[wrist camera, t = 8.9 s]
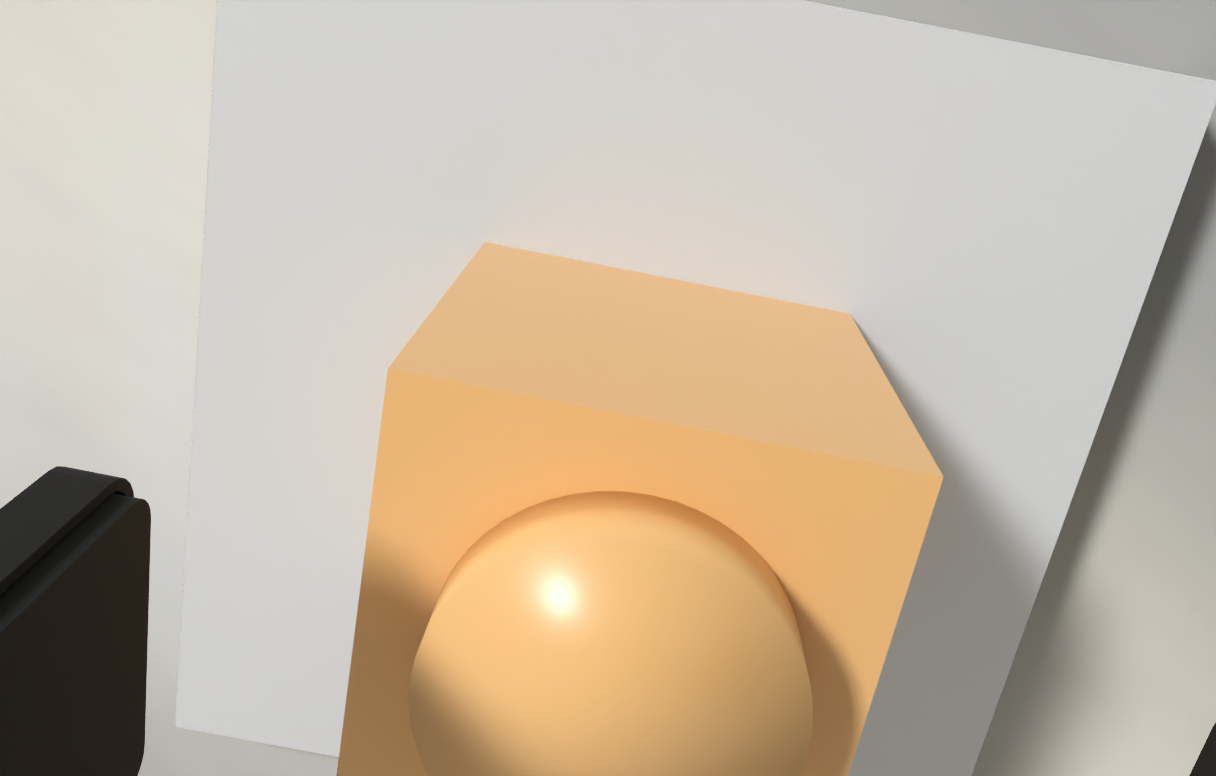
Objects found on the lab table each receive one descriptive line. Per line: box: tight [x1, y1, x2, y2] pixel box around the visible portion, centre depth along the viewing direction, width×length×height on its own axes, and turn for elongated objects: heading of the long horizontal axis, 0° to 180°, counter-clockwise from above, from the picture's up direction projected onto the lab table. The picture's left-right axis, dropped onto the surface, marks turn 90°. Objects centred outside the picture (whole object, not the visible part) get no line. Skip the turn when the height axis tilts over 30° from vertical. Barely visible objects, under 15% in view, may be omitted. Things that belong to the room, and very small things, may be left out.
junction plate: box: [175, 0, 1216, 776], centre depth 16 cm, size 14×14×6 cm
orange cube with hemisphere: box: [337, 242, 944, 776], centre depth 14 cm, size 6×6×7 cm
